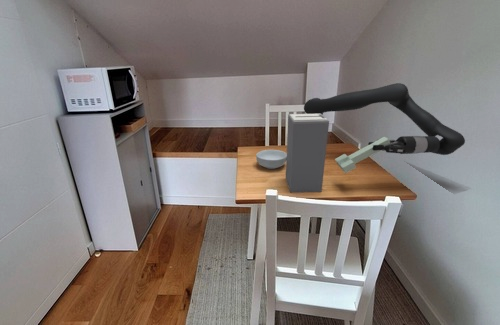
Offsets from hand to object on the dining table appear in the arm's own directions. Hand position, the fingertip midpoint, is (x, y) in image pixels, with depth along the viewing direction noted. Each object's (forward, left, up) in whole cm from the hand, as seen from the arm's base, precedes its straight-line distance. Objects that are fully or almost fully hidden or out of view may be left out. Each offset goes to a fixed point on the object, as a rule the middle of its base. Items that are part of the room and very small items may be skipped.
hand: (371, 146), depth 103 cm
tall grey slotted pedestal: (-12, -25, -20) cm, 34 cm away
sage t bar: (-1, -2, -5) cm, 5 cm away
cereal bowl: (-38, -29, -20) cm, 52 cm away
